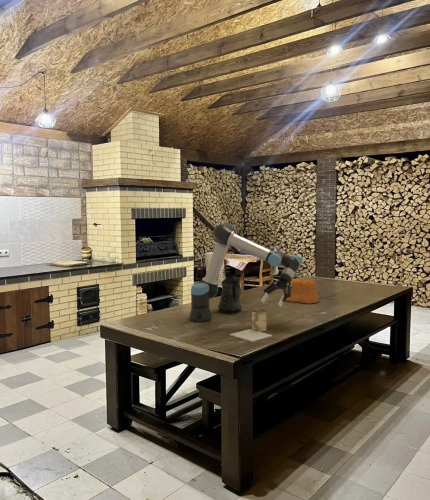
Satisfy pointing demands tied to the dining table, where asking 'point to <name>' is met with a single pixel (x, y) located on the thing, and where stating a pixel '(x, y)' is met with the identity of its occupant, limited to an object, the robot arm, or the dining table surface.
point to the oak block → (259, 320)
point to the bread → (303, 291)
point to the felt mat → (251, 335)
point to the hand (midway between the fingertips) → (270, 303)
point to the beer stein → (230, 296)
